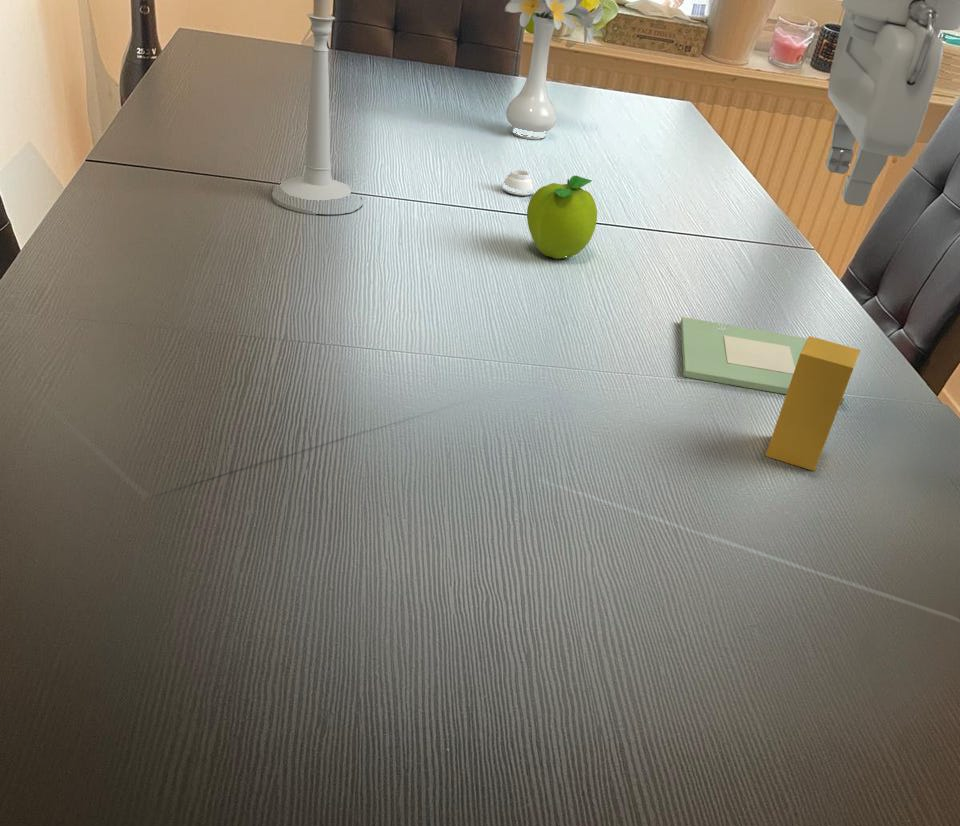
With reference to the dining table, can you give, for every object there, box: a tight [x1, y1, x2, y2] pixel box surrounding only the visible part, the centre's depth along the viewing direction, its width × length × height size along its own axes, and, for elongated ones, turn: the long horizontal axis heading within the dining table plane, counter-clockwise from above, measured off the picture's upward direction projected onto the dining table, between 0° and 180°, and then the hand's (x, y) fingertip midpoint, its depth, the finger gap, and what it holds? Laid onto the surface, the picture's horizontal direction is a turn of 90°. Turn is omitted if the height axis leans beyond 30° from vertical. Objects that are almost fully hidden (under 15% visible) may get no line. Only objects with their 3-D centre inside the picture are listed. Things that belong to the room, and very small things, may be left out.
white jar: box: [501, 169, 535, 197], centre depth 160 cm, size 5×3×5 cm
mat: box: [680, 316, 845, 405], centre depth 120 cm, size 18×16×1 cm
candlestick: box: [271, 0, 351, 216], centre depth 136 cm, size 13×13×30 cm
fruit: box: [526, 175, 598, 260], centre depth 137 cm, size 9×9×10 cm
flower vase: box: [504, 0, 606, 141], centre depth 181 cm, size 13×18×25 cm
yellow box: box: [765, 335, 861, 472], centre depth 100 cm, size 5×5×11 cm
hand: (843, 186), depth 85 cm, fingers open, 8 cm apart
